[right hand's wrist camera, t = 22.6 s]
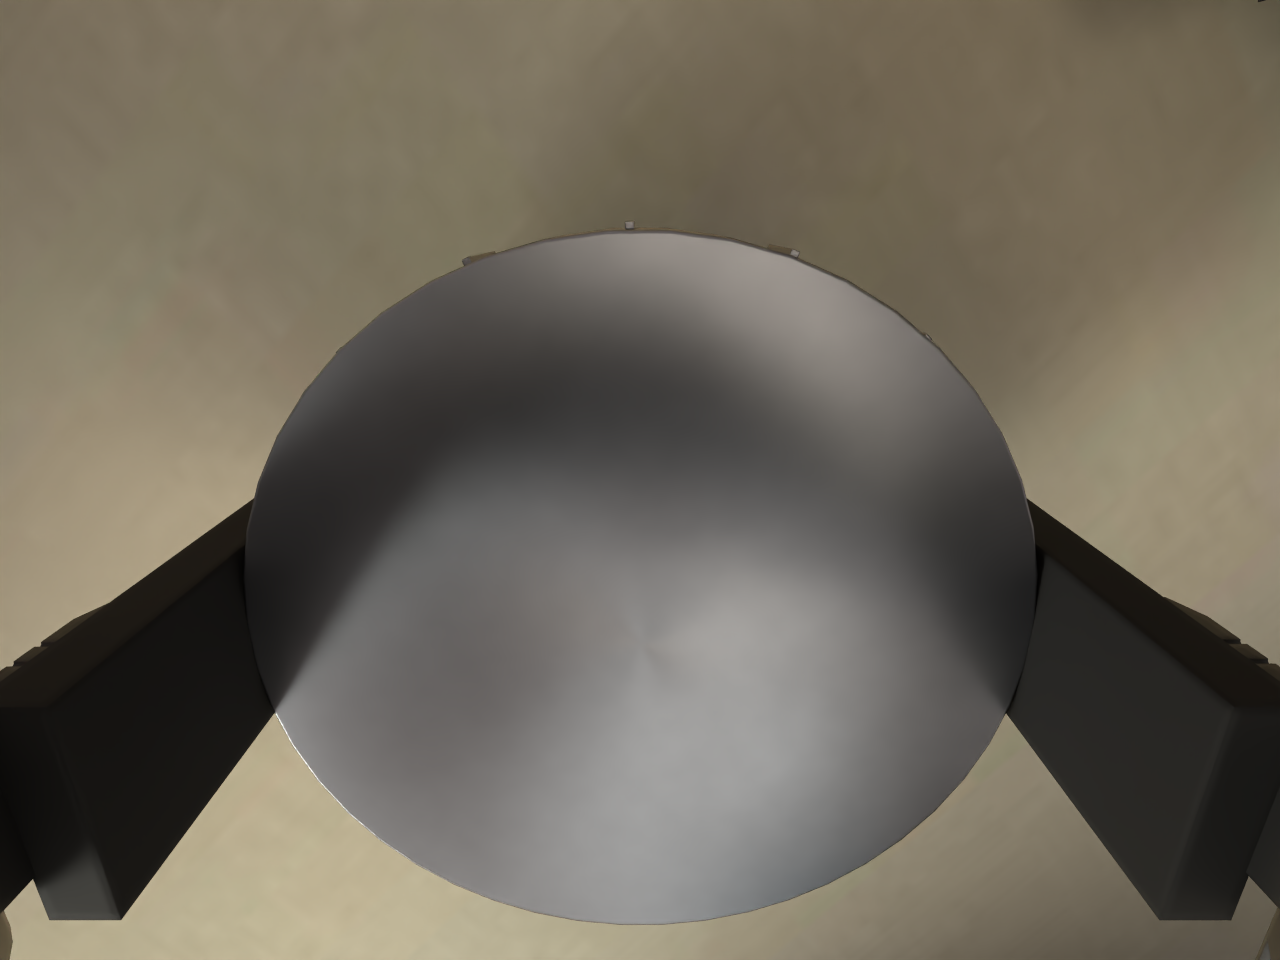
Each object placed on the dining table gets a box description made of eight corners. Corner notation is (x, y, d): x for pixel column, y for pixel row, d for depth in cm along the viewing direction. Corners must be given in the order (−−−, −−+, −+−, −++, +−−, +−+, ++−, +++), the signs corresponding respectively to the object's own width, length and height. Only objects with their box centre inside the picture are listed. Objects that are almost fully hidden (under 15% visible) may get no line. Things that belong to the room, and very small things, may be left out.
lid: (599, 37, 9) (587, -17, 7) (1108, 539, 12) (1211, 610, 10) (189, 594, 12) (94, 674, 10) (668, 903, 15) (673, 1019, 13)
